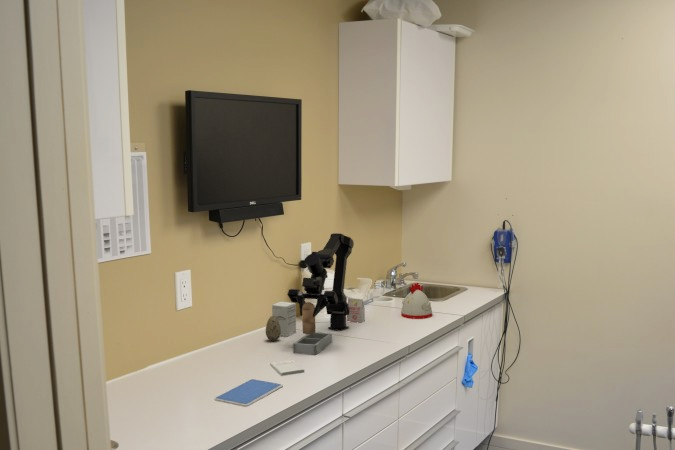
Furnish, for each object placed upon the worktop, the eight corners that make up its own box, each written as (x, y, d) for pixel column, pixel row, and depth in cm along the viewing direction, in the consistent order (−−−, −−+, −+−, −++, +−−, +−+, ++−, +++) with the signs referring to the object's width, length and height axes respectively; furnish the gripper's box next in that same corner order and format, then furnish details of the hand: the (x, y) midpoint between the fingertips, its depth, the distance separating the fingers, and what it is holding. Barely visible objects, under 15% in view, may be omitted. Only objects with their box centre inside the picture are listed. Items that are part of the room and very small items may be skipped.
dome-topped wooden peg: (313, 330, 247) (313, 300, 246) (316, 333, 243) (316, 303, 242) (301, 331, 246) (300, 301, 245) (304, 334, 241) (303, 304, 240)
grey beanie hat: (394, 315, 298) (394, 283, 296) (415, 310, 307) (414, 278, 305) (418, 320, 287) (418, 287, 286) (438, 315, 297) (438, 282, 295)
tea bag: (350, 319, 291) (350, 297, 290) (364, 321, 289) (364, 298, 288) (347, 321, 288) (346, 299, 287) (361, 322, 285) (360, 300, 284)
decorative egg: (272, 337, 264) (272, 313, 263) (284, 340, 260) (283, 315, 259) (262, 341, 259) (262, 316, 258) (274, 343, 255) (273, 318, 254)
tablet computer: (246, 409, 190) (246, 404, 190) (212, 401, 196) (212, 397, 196) (283, 388, 207) (283, 384, 207) (251, 382, 213) (251, 378, 213)
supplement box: (272, 335, 268) (271, 304, 267) (281, 330, 274) (281, 301, 273) (287, 337, 265) (286, 306, 263) (296, 332, 271) (296, 302, 270)
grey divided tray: (310, 340, 258) (310, 332, 258) (331, 342, 255) (331, 333, 255) (293, 352, 242) (293, 343, 242) (316, 354, 239) (315, 345, 239)
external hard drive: (281, 377, 217) (270, 366, 229) (304, 374, 220) (292, 363, 232) (281, 372, 217) (270, 362, 228) (304, 369, 220) (292, 359, 232)
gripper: (288, 267, 249) (277, 302, 240) (335, 269, 243) (325, 305, 234) (297, 284, 257) (286, 318, 248) (342, 286, 251) (333, 321, 242)
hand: (307, 315), depth 242 cm, fingers closed on dome-topped wooden peg, 5 cm apart
